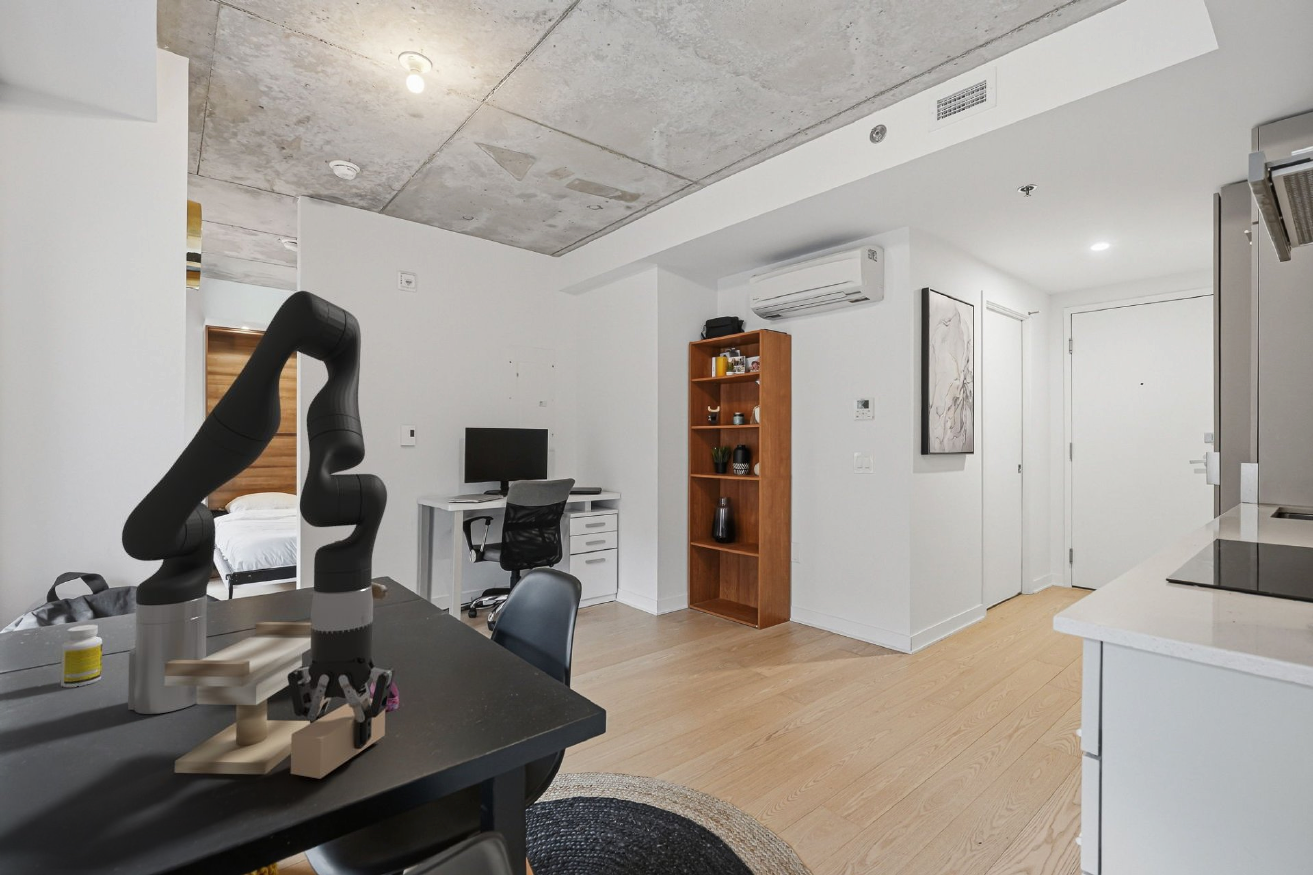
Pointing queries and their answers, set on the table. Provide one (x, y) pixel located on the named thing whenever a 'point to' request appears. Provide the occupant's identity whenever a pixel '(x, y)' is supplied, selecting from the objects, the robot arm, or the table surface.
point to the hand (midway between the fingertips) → (340, 745)
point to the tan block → (329, 742)
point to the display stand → (244, 698)
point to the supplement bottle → (81, 657)
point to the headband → (391, 703)
